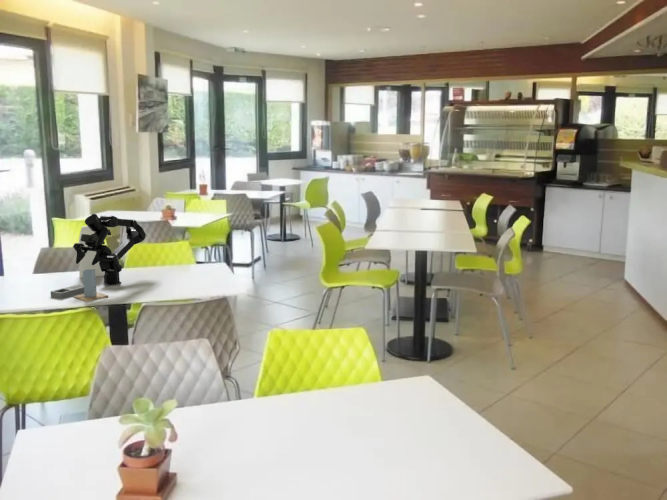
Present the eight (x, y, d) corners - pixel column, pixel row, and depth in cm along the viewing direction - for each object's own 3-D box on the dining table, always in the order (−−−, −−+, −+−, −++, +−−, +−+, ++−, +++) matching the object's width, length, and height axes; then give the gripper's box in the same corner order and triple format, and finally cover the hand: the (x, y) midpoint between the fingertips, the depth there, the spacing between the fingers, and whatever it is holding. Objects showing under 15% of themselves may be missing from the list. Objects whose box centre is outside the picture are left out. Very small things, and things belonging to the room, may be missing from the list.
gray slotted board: (83, 289, 308) (82, 282, 307) (93, 290, 305) (92, 283, 304) (51, 297, 292) (50, 290, 292) (61, 299, 289) (60, 292, 288)
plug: (88, 294, 294) (86, 269, 291) (96, 294, 294) (94, 269, 291) (84, 297, 290) (82, 271, 287) (93, 297, 290) (91, 271, 287)
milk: (103, 271, 347) (100, 223, 342) (104, 275, 336) (100, 227, 332) (80, 273, 343) (76, 225, 338) (79, 277, 332) (75, 228, 327)
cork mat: (95, 293, 299) (95, 291, 299) (108, 297, 292) (108, 295, 292) (73, 298, 291) (73, 296, 291) (85, 302, 284) (85, 300, 284)
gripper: (74, 226, 305) (58, 253, 297) (105, 228, 298) (91, 255, 290) (86, 239, 313) (72, 266, 305) (118, 242, 307) (104, 269, 299)
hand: (84, 264), depth 300 cm, fingers open, 9 cm apart
